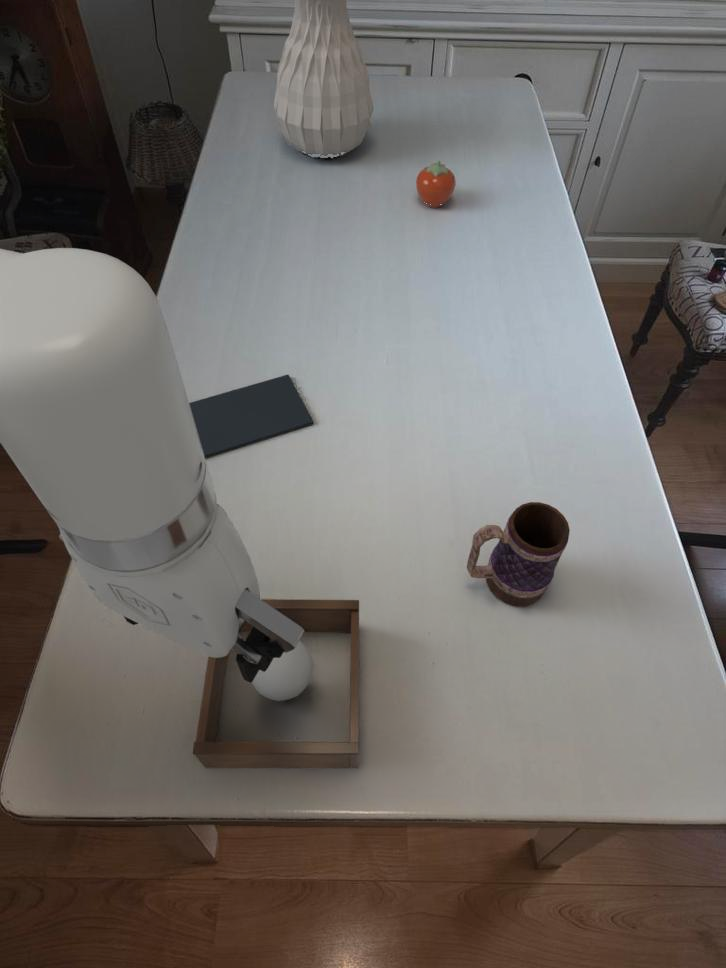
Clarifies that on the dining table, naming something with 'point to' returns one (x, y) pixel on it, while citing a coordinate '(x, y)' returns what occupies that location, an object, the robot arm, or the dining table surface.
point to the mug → (521, 553)
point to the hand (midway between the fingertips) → (200, 634)
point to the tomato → (435, 184)
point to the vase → (322, 81)
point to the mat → (249, 415)
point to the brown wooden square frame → (284, 753)
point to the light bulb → (286, 675)
